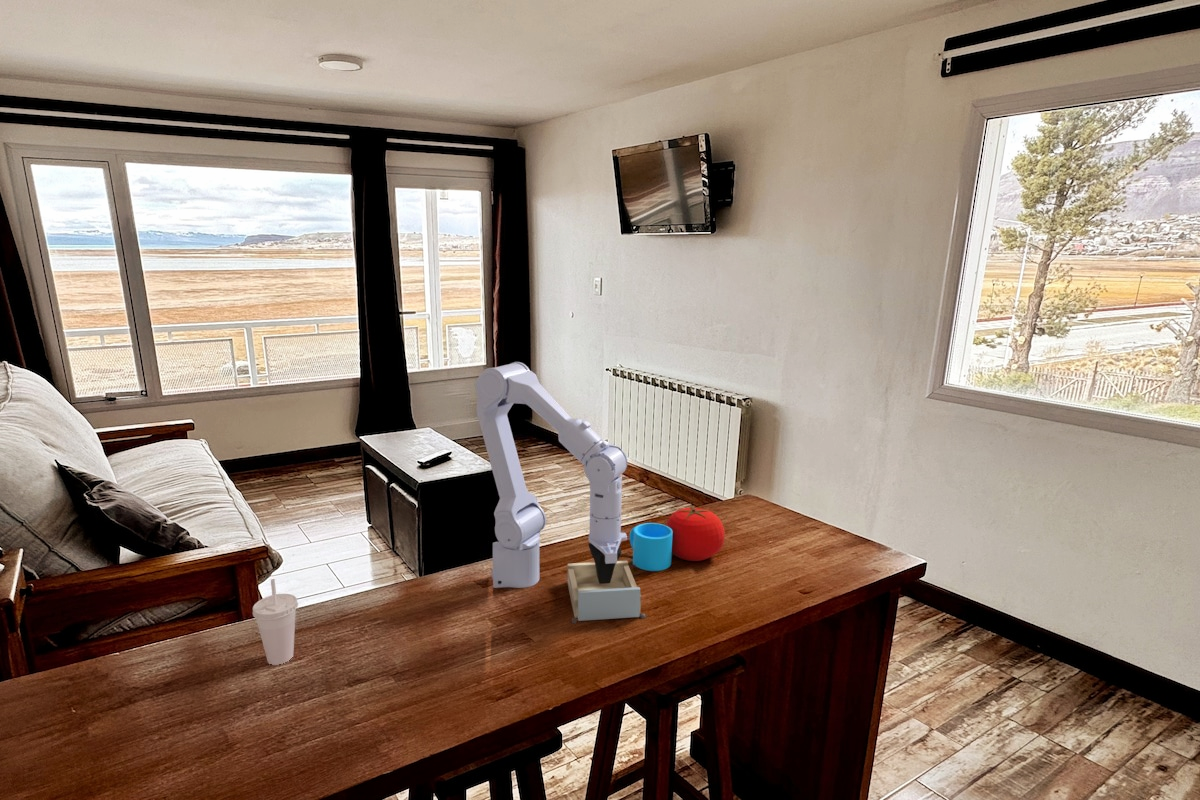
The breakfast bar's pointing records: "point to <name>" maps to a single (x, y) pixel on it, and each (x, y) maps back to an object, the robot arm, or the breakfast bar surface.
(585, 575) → the box
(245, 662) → the breakfast bar surface
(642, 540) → the mug
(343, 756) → the breakfast bar surface
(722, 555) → the breakfast bar surface
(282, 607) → the smoothie
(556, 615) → the breakfast bar surface
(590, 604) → the panel
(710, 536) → the tomato
